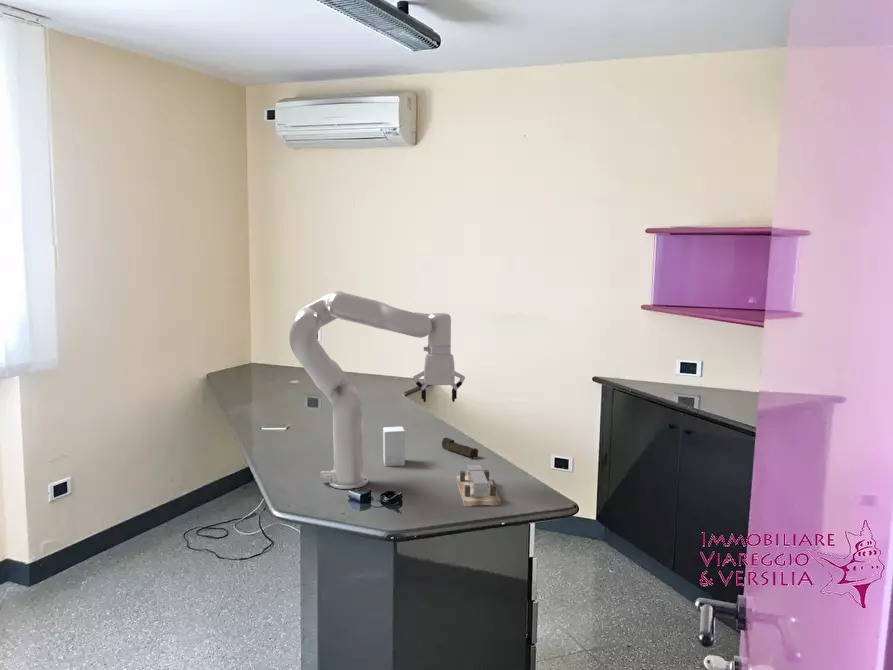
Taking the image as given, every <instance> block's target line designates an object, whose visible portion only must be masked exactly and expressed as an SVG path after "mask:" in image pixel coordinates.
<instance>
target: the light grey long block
mask: <svg viewBox="0 0 893 670" xmlns="http://www.w3.org/2000/svg"><path fill="white" fill-rule="evenodd" d="M466 474H467V475H466V476H467V480H468V482H469V485H470V488H471V491H472V493H473V496H474V497H488V481H487V479H486V476H485V474H484V469H483V468H482V466H481V464H467V465H466Z"/></svg>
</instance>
